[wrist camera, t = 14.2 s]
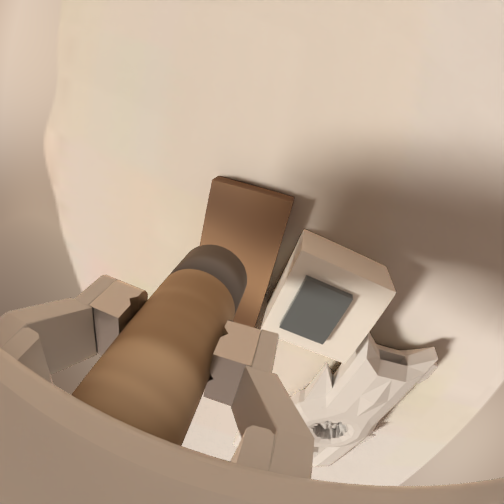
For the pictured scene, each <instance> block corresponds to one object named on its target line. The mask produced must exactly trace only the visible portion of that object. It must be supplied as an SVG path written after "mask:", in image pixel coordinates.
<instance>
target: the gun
mask: <svg viewBox="0 0 504 504" xmlns="http://www.w3.org/2000/svg"><path fill="white" fill-rule="evenodd" d="M437 360H438V357H437V354H436V351H435V347H429V348H422V349H412V350H396V349H392V348H389V347H385V346H382V345H378V344H376V343H375V341H374V339H373V337H372V336H371V334H370V332H369V333H368V334H367V335H366V337H365V338H364V339H363V341H362V342H361V343H360V345H359V346H358V347H357V349H356V350H355V351H354V353H353V354H352V355H351V356H350V358H349V359H348V360H347V361H346V363H345V364H344V363H341V365H340V366H339V368H338V369H337V370H336V372H335V373H334V374H333V375H332V373H331V370H330V368H329V365H328V363H327V362H326V364H325V365H324V366H323V367H322V369H321V370H320V371H319V373H318V374H317V375H316V376H315V378H314V379H313V380H312V381H311V383H310V384H309V385H308V386H307V387H306V389H302V390H299V391H298V392H297V393H295V394H294V395H293V396H291V397H290V398H291V400H292V401H293V403H294V405H295V406H296V408H297V410H298V412H299V413H300V415H301V417H302V418H303V420H304V422H305V423H306V425H307V427H308V428H309V430H310V432H311V433H312V435H313V437H314V438H315V439H314V451H313V463H312V467H323V466H330V465H332V464H333V463H335V462H336V461H337V460H339V459H340V458H341V457H343V456H344V455H345V454H346V453H348V452H349V451H350V450H352V449H353V448H354V447H355V446H357V445H359V444H361V443H363V442H365V441H366V440H368V439H370V438H372V437H374V436H376V434H371V433H372V432H373V430H374V429H375V427H376V425H377V424H378V422H379V421H380V419H381V418H382V417H384V416H385V415H386V414H387V413H388V412H389V411H390V410H391V409H392V408H393V407H394V406H396V405H397V404H398V403H399V402H400V401H401V400H402V399H403V398H404V397H405V396H406V395H407V393H408V392H409V391H410V390H411V389H412V388H413V387H414V386H415V385H416V384H418V383H420V382H422V381H424V380H426V379H427V378H428V377H429V376H430V375H431V374H432V373H433V372H434V371H435V370H436V369H437V367H438V365H437V363H436V361H437ZM241 439H242V438H241V436H240V433H239V430H238V432H237V434H236V436H235V439H234V443H233V445H234V446H235V447H236V448H237V447H238V445H239V443H240V441H241Z"/></svg>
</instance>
